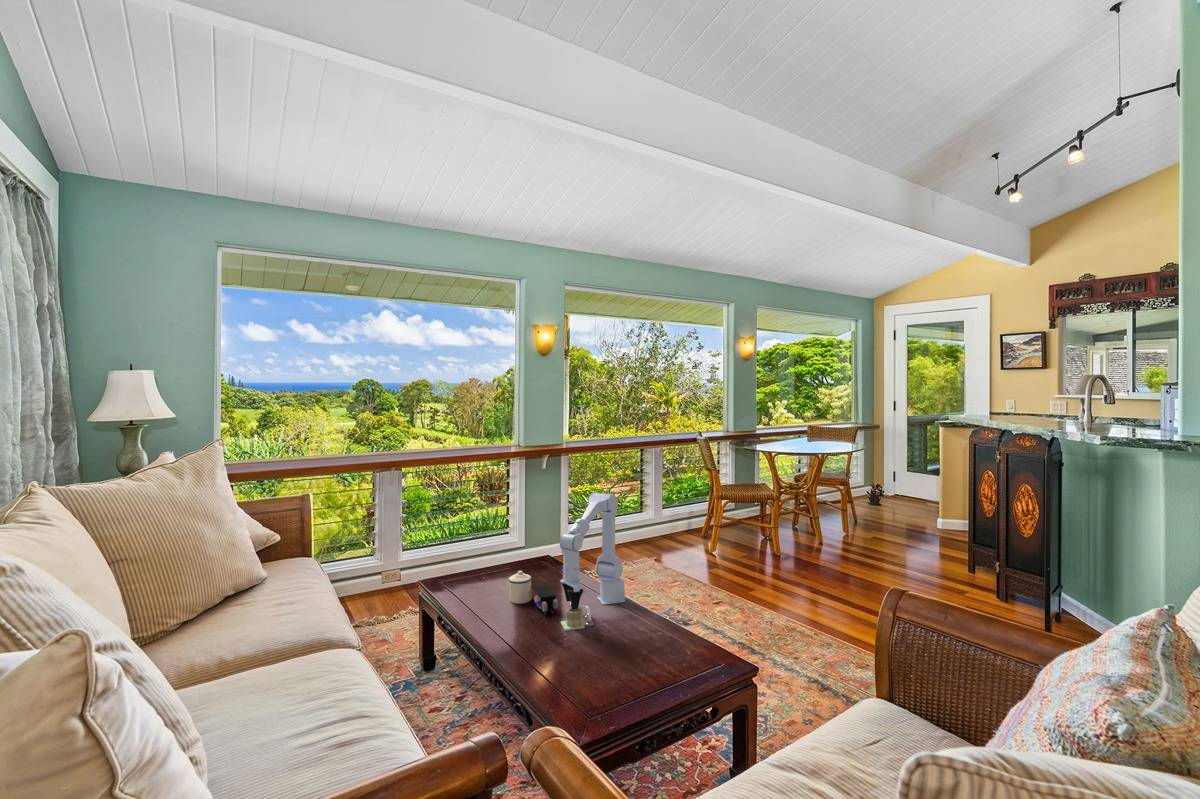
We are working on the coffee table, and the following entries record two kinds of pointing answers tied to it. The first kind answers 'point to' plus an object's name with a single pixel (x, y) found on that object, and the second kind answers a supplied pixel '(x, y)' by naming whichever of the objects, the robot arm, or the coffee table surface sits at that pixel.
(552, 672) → the coffee table surface
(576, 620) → the maple ring
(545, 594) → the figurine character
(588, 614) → the grey piece
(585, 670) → the coffee table surface
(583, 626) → the pad
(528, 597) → the teacup with lid
